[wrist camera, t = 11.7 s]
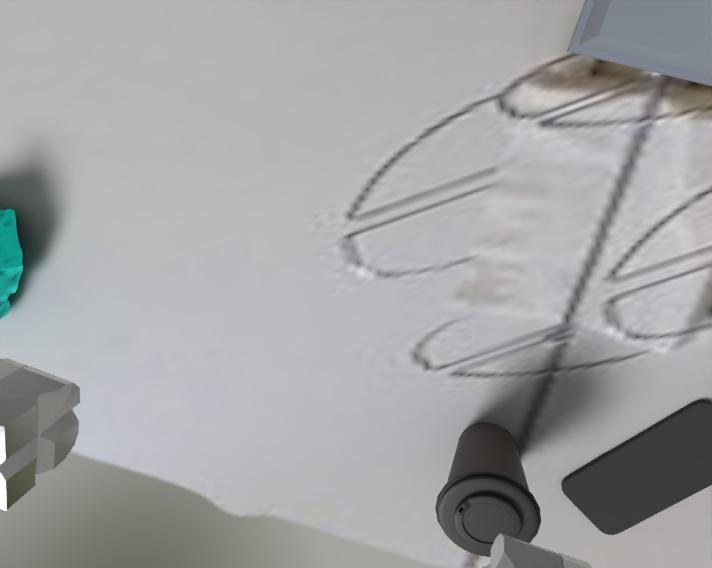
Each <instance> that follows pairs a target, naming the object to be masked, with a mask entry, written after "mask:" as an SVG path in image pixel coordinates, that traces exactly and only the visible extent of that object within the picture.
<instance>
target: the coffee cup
mask: <svg viewBox="0 0 712 568" xmlns="http://www.w3.org/2000/svg"><path fill="white" fill-rule="evenodd" d="M436 513H437V519H438V522H439V524H440V525H441V527H442V529H443V530H444V532H445V534H446V535H447V536H448V537H449V538H450V539H451V540H452V541H453V542H454V543H455V544H456V545H458V546H459V547H461V548H462V549H464V550H466V551H468V552H471V553H474V554H477V555H481V556H486V557H491V547H492V545H493V543H494V541H495V539H496V537H497V536H498V535H499V534H500V533H501V534H504V535H507V536H510V537H512V538H515V539H518V540H521V541H524V542H527V543H530V542H531V541H532V539H533V538H534V537H535V536H536V535H537V533H538V530H539V526H540V523H541V516H540V508H539V506H538V504H537V502H536V500H535V498H534V496H533V494H531V493H530V492H529V489H528V485H527V481H526V478H525V474H524V471H523V467H522V463H521V460H520V456H519V453H518V449H517V445H516V442H515V440H514V438H513V436H512V435H511V434H510V433H509V432H508V431H507V430H506V429H504V428H502V427H500V426H498V425H495V424H491V423H478V424H475V425H472V426H470V427H469V428H467V429H466V430H465V431H464V432H463V433H462V435H461V436H460V438H459V442H458V446H457V449H456V453H455V456H454V460H453V464H452V467H451V471H450V475H449V478H448V482H447V484H446V485H445V486H444V488H443V489H442V491H441V492H440V493H439V495H438V498H437V503H436Z"/></svg>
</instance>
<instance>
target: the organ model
mask: <svg viewBox="0 0 712 568" xmlns="http://www.w3.org/2000/svg"><path fill="white" fill-rule="evenodd" d="M22 258H23V253H22V250H21V247H20V244H19V240H18V236H17V228H16V215H15V211H14V209H12V210H11V209H6V210H0V319H1V318H3V317H4V316H5V315H7V314H8V312H9V310H10V302H9V301H8V299H7V298H8V297H9V296H10V294H11V293H15V292H16V290H17V288H18V284H19V279H20V276H21V274H22V272H23V264H22Z"/></svg>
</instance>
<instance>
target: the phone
mask: <svg viewBox="0 0 712 568" xmlns="http://www.w3.org/2000/svg"><path fill="white" fill-rule="evenodd" d="M710 485H712V403H711V402H709V401H706V400H699V401H695V402H693V403H691V404H689V405H687V406H685V407H684V408H682V409H680V410H679V411H677V412H675V413H673V414H672V415H670V416H668V417H667V418H665V419H663V420H661V421H660V422H658V423H656V424H655V425H653V426H651V427H650V428H648V429H646V430H644V431H643V432H641V433H639V434H638V435H636V436H634V437H632V438H631V439H629V440H627V441H626V442H624V443H622V444H620V445H619V446H617V447H615V448H614V449H612V450H610V451H609V452H606V453H604V454H603V455H601V456H599V457H598V458H596V459H594V460H593V461H591V462H590V463H588V464H586V465H585V466H583V467H581V468H580V469H578V470H576V471H574V472H573V473H571V474H569V475H568V476H566V477H565V478H564V479H563V480H562V483H561V486H562V490H563V492H564V494H565V495H566V496H567V497H568V498H569V499H570V500H571V501H572V502H573V503H574V504H575V505H576V506H577V508H578V509H579V510H580V511H581V512H582V513H583V514H584V515H585V516H586V517H587V518H588V519H589V520H590V521H591V522H592V523H593V524H594V525H595V526H596V527H597V528H598V529H599V530H600V531H602V532H603V533H605V534H608V535H614V534H618V533H620V532H622V531H624V530H626V529H628V528H630V527H632V526H634V525H636V524H638V523H640V522H641V521H643V520H645V519H647V518H649V517H651V516H653V515H655V514H657V513H659V512H661V511H662V510H664V509H666V508H668V507H670V506H672V505H674V504H676V503H678V502H680V501H682V500H683V499H685V498H687V497H689V496H691V495H693V494H695V493H697V492H699V491H701V490H703V489H704V488H706V487H708V486H710Z"/></svg>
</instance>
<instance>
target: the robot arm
mask: <svg viewBox="0 0 712 568" xmlns="http://www.w3.org/2000/svg"><path fill="white" fill-rule="evenodd" d="M79 403H80V388H79V387H78V386H77V385H76V384H74V383H72V382H70V381H67V380H65V379H62V378H59V377H57V376H54V375H51V374H49V373H46V372H44V371H41V370H38V369H36V368H33V367H28V366H26V365H24V364H21V363H18V362H16V361H13V360H11V359H8V358H7V359H0V509H3V510H8V509H9V508H10V507H11V506H12V505H13V504H14V503H16V502H17V501H18V500H19V499H20V498H21V497H22V496H24V495H25V494H26V493H27V492H28V491H29V490H31V489H32V488H33V487H34V486H35V485H36V479H37V474H40V473H43V472H46V471H49V470H52V469H54V468H55V467H57V466H58V465H59V464H60V463H61V462H62V461H63V460H64V459H65V458H66V457H67V455H68V454H69V452H70V451H71V449H72V447H73V446H74V444H75V441H76V438H77V435H78V428H79V421H78V419H77V417H76V416H75V414H74V412H73V410H72V409H73V408H74V407H75V406H77V405H78V404H79ZM483 568H592V567H591V566H590V565H589V563H588V562H585V561H582V560H579V559H576V558H573V557H570V556H567V555H564V554H561V553H556V552H553V551H550V550H547V549H544V548H542V547H539V546H536V545H533V544H530V543H527V542H524V541H521V540H518V539H515V538H512V537H510V536H507V535H504V534H501V533H500V534H499V535H498V536H497V537H496V539H495V541H494V543H493V545H492V547H491V564H489V565H487V566H485V567H483Z"/></svg>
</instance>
